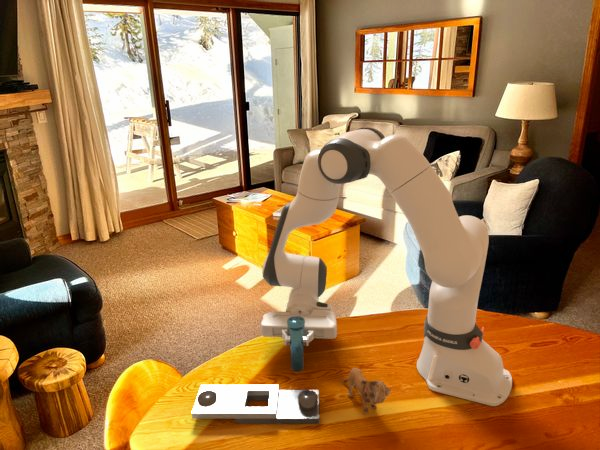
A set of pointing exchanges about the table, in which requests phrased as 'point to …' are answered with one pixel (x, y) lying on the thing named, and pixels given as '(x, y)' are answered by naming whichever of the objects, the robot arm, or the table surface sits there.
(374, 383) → the lion figurine
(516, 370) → the table surface
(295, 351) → the pin
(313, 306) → the robot arm
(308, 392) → the latch plate
